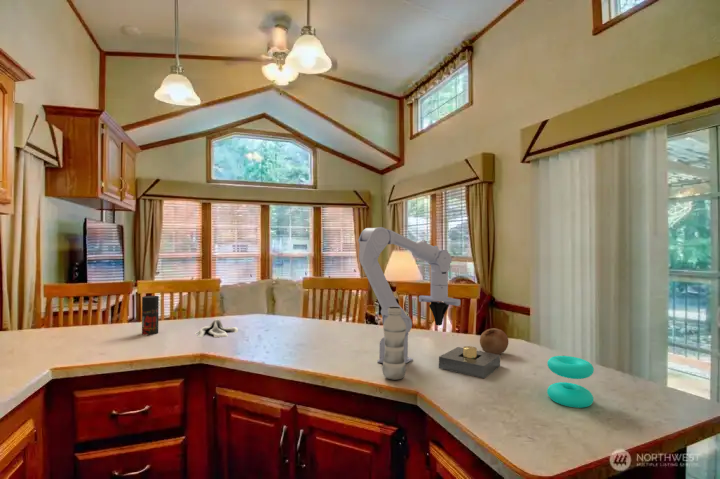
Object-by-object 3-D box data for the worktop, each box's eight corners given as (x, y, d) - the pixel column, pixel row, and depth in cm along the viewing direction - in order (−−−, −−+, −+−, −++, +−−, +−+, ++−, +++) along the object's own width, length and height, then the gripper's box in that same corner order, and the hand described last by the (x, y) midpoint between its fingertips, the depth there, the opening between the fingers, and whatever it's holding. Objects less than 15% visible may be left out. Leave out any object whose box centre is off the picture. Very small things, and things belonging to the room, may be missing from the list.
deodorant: (138, 334, 158) (138, 297, 158) (150, 331, 163) (150, 295, 163) (150, 335, 156) (150, 298, 156) (161, 332, 162) (161, 296, 162)
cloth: (208, 327, 174) (208, 313, 174) (247, 329, 171) (247, 315, 171) (175, 339, 152) (176, 323, 152) (218, 342, 149) (219, 326, 149)
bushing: (473, 370, 117) (473, 350, 117) (460, 367, 120) (461, 348, 120) (478, 367, 121) (478, 347, 121) (466, 364, 123) (466, 345, 123)
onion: (492, 365, 131) (486, 341, 128) (477, 350, 140) (472, 327, 137) (516, 354, 133) (511, 330, 129) (500, 340, 142) (495, 317, 138)
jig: (484, 378, 111) (484, 366, 111) (438, 368, 119) (439, 356, 119) (500, 366, 122) (500, 354, 122) (457, 357, 130) (457, 347, 130)
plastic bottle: (390, 372, 115) (391, 304, 115) (410, 378, 110) (410, 307, 110) (377, 378, 110) (378, 307, 110) (397, 384, 105) (398, 310, 105)
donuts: (561, 367, 90) (539, 354, 100) (560, 410, 90) (539, 393, 100) (603, 366, 91) (577, 354, 101) (603, 409, 91) (577, 392, 101)
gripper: (464, 285, 131) (463, 325, 131) (425, 282, 140) (425, 320, 140) (455, 287, 125) (455, 329, 125) (415, 283, 134) (415, 323, 134)
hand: (438, 324), depth 132 cm, fingers closed
